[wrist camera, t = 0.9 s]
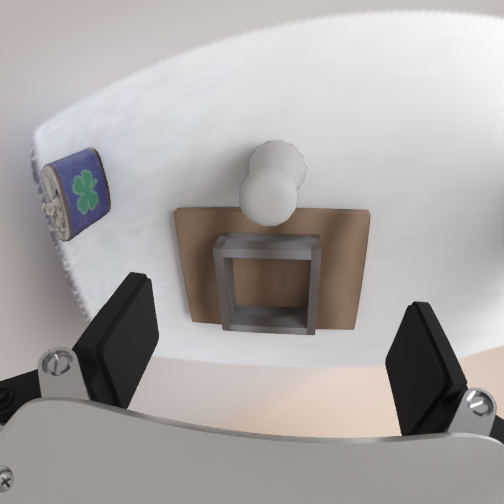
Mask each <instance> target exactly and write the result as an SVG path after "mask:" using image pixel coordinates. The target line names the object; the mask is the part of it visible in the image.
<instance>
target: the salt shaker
mask: <svg viewBox="0 0 504 504" xmlns="http://www.w3.org/2000/svg"><path fill="white" fill-rule="evenodd" d="M306 168H307V167H306V164H305V161H304V158H303V155H302V154H301V153H300V152H299V150H298V149H297V148H296V147H295V146H294V145H292V144H289V143H286V142H284V141H267V142H266V143H264V144H262V145H261V146H259V147H257V148H256V150H255V151H254V152H253V154H252V155H251V157H250V158H249V168H248V172H249V175H248V176H247V177H246V178H245V180H244V181H243V183H242V184H241V186H240V193H239V203H240V206H241V209H242V212H243V214H244V215H245V216H247V217H248V218H249V219H250V220H251V221H252V222H254V223H256V224H259V225H261V226H277V225H279V224H281V223H283V222H285V221H287V220H288V219H289V217H290V216H291V215H292V213H293V212H294V211H295V209H296V206H297V201H298V191H297V189H298V188H299V186H300V185H301V184H302V182H303V181H304V179H305V173H306Z"/></svg>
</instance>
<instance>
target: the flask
mask: <svg viewBox="0 0 504 504" xmlns="http://www.w3.org/2000/svg"><path fill="white" fill-rule="evenodd" d="M41 177H42V180H43V183H44V186H45V189H46V192H47V195H48V198H49V202H50V203H47V204H44V203H42V209H41V210H42V212H43V210H44V208H45V209H46V214H48V216H49V215H52V216H53V218H54V230H55V232H56V234H57V236H58V237H59V238H60V240H62V241H63V242H65V241H69V240H71V239H73V238H74V237H75V236H76V235H78V234H79V233H80V232H82V231H83V230H84V229H86V228H87V227H89V226H90V225H91V224H93V223H95V222H96V221H98V220H100V219H101V218H102V217H103V216H104V215H106V214H107V213H108V212H109V211H110V208H111V207H110V205H111V201H110V193H109V186H108V182H107V180H106V175H105V172H104V168H103V164H102V162H101V158H100V156H99V154H98V152H97V151H96V150H95V149H91V148H88V149H85V150H83V151H80V152H78V153H75V154H72V155H70V156H67V157H65V158H62V159H60V160H57V161H55V162H52V163H49V164H46V165H45V166H44V167H43V169H42V171H41Z"/></svg>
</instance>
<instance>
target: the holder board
mask: <svg viewBox="0 0 504 504" xmlns="http://www.w3.org/2000/svg"><path fill="white" fill-rule="evenodd" d="M174 218H175V224H176V231H177V238H178V244H179V250H180V257H181V263H182V268H183V274H184V280H185V286H186V291H187V297H188V302H189V307H190V312H191V317H192V322H200V323H212V324H222V328H223V330H227V331H240V332H256V333H274V334H298V335H315V329H344V330H354V327H355V322H356V317H357V311H358V305H359V299H360V293H361V287H362V280H363V273H364V266H365V259H366V251H367V242H368V234H369V224H370V213H369V211H368V210H350V209H318V208H296V209H295V211H294V212H293V213H292V215H291V216H290V217H289V219H288V220H287V221H285V222H283V223H281V224H279V225H277V226H261V225H259V224H256V223H254V222H252V221H251V220H250V219H249V218H248V217H247V216H245V215H244V214H243V212H242V209H241V207H215V208H178V209H177V210H176V211H175V212H174Z"/></svg>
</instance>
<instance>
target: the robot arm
mask: <svg viewBox="0 0 504 504" xmlns="http://www.w3.org/2000/svg"><path fill="white" fill-rule="evenodd" d="M158 340H159V331H158V325H157V318H156V312H155V305H154V297H153V290H152V282H151V279H149V278H147V276H146V274H142V273H135V272H130V273H129V274H128V276H127V277H126V278H125V279H124V281H123V282H122V283H121V285H120V286H119V287H118V288H117V290H116V291H115V292H114V294H113V295H112V296H111V298H110V299H109V300H108V302H107V303H106V304H105V305H104V306H103V307H102V308H101V309H100V311H99V312H98V314H97V315H96V316H95V318H94V319H93V320H92V322H91V323H90V324H89V326H88V327H87V329H86V330H85V331H84V333H83V334H82V335H81V337H80V338H79V340H78V341H77V343H76V344H75V345H74V347H73V348H72V350H71V349H69V348H66V347H56V348H52V349H50V350H48V351H47V352H45V353H44V354H43V355H42V356H41V357H40V359H39V361H38V369H37V370H34V371H31V372H28V373H25V374H21V375H18V376H15V377H12V378H9V379H6V380H3V381H0V504H504V420H503V419H502V418H500V417H498V416H497V415H496V411H497V406H496V402H495V400H494V398H493V396H491V394H490V393H489V392H487V391H486V390H484V389H481V388H470V389H469V390H468V387H467V385H466V384H467V380H466V378H465V375H464V373H463V371H462V369H461V367H460V364H459V362H458V360H457V358H456V356H455V353H454V351H453V349H452V347H451V345H450V343H449V341H448V339H447V337H446V335H445V333H444V331H443V329H442V327H441V325H440V323H439V321H438V319H437V317H436V315H435V313H434V311H433V310H432V308H431V306H430V304H429V303H428V302H413V303H412V305H409V306H408V307H407V309H406V312H405V314H404V317H403V319H402V322H401V324H400V327H399V329H398V331H397V334H396V336H395V339H394V341H393V343H392V345H391V348H390V350H389V352H388V354H387V357H386V362H385V365H386V369H387V373H388V377H389V381H390V385H391V389H392V394H393V398H394V402H395V406H396V411H397V415H398V420H399V425H400V430H401V434H402V436H392V437H372V438H319V437H318V438H317V437H296V436H281V435H270V434H259V433H249V432H242V431H234V430H227V429H220V428H213V427H207V426H201V425H196V424H190V423H185V422H180V421H175V420H170V419H165V418H161V417H157V416H152V415H148V414H143V413H139V412H135V411H131V410H127V408H128V406H129V404H130V402H131V399H132V397H133V395H134V393H135V391H136V388H137V386H138V384H139V382H140V380H141V377H142V375H143V373H144V371H145V369H146V367H147V364H148V362H149V360H150V358H151V356H152V354H153V352H154V350H155V347H156V345H157V343H158Z"/></svg>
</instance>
